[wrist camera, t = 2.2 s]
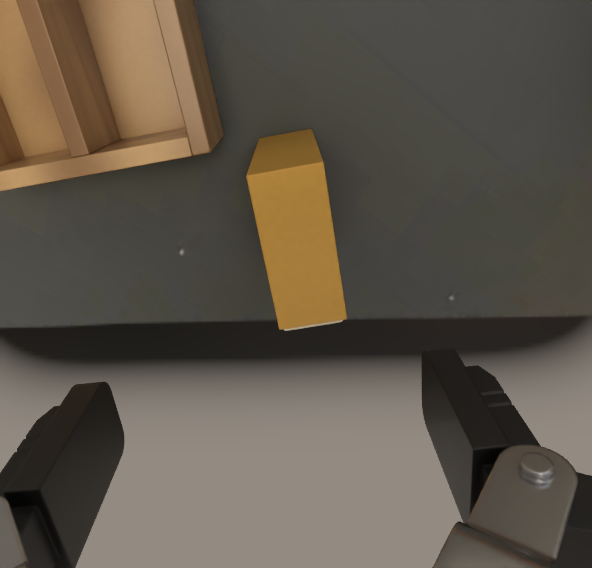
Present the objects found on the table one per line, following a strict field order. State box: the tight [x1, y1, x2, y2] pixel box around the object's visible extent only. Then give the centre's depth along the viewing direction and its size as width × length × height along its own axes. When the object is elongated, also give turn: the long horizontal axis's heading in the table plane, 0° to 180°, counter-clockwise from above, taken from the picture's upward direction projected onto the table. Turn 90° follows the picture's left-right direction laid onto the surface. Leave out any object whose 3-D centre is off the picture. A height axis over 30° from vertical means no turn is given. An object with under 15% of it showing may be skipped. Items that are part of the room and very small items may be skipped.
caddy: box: [0, 0, 224, 191], centre depth 27 cm, size 13×13×6 cm
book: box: [246, 129, 347, 331], centre depth 28 cm, size 3×8×11 cm, turn 10°
